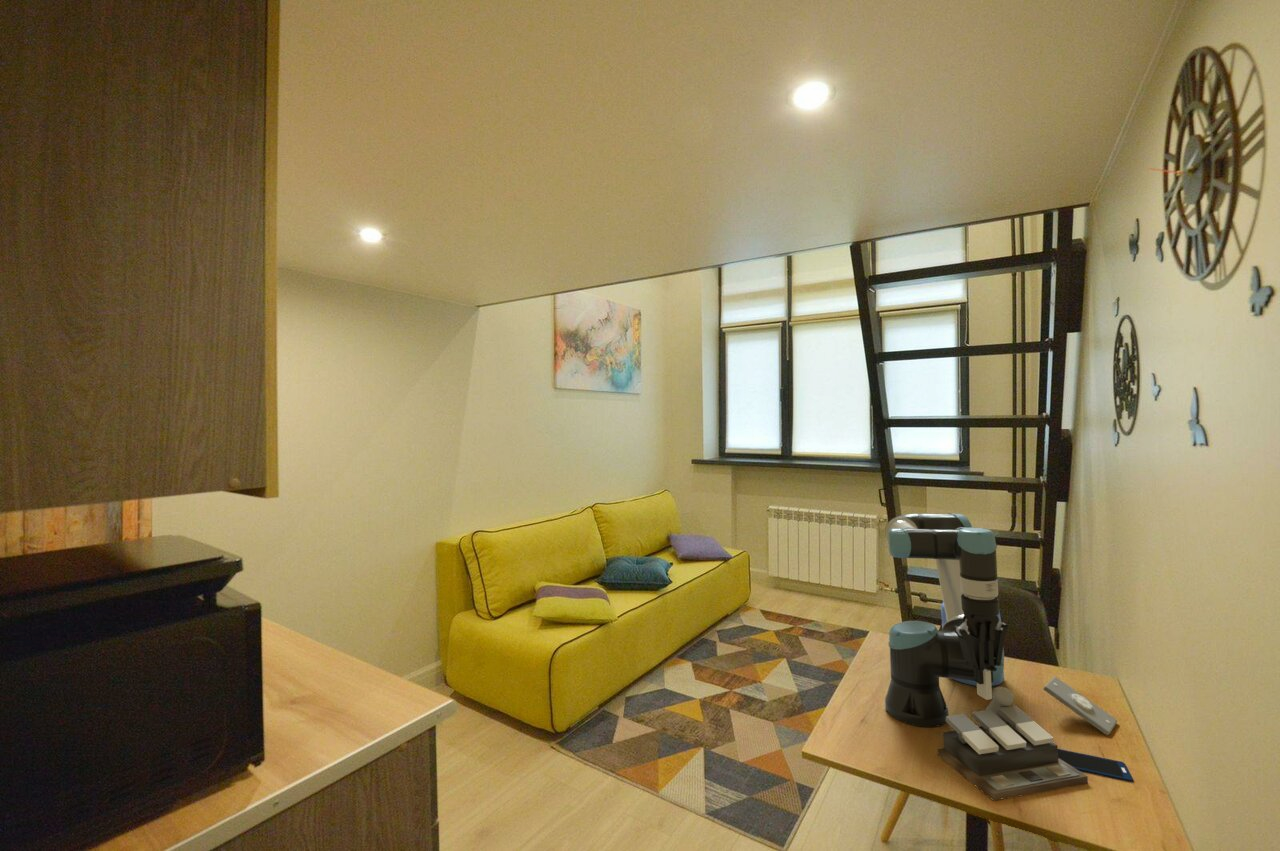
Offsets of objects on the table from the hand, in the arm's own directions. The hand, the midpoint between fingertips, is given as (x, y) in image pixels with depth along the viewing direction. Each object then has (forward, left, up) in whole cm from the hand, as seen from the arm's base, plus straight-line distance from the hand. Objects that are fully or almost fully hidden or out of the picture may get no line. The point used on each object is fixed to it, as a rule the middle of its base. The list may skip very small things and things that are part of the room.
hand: (984, 696), depth 127 cm
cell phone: (+9, +18, -14) cm, 24 cm away
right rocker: (+3, +7, -8) cm, 11 cm away
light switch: (-7, +33, -14) cm, 37 cm away
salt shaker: (-8, +10, -13) cm, 18 cm away
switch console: (+6, 0, -13) cm, 15 cm away
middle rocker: (+3, 0, -8) cm, 8 cm away
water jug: (-34, +27, -14) cm, 45 cm away
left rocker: (+3, -7, -8) cm, 11 cm away
